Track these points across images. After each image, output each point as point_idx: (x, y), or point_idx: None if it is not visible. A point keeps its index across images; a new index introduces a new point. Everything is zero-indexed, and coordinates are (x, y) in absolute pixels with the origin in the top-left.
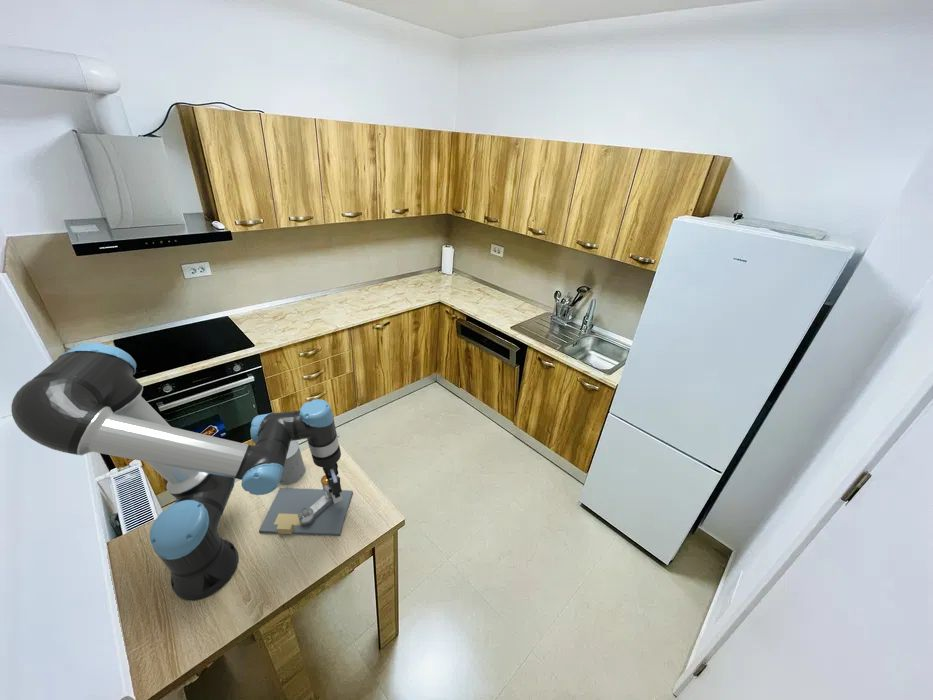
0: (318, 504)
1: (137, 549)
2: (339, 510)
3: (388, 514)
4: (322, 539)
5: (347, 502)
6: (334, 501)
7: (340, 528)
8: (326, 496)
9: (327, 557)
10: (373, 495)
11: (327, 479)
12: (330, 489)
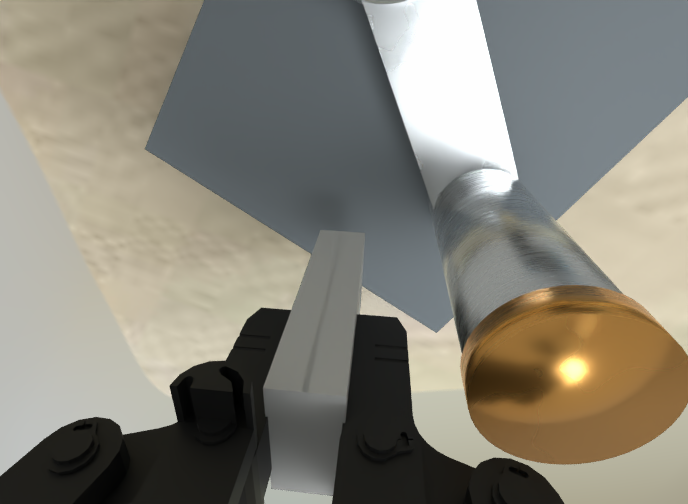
0: (445, 83)
1: None
2: (330, 211)
3: None
4: (175, 13)
5: (364, 276)
6: (314, 250)
7: (183, 168)
8: (460, 190)
9: (22, 5)
10: None
11: (492, 489)
12: (245, 418)
